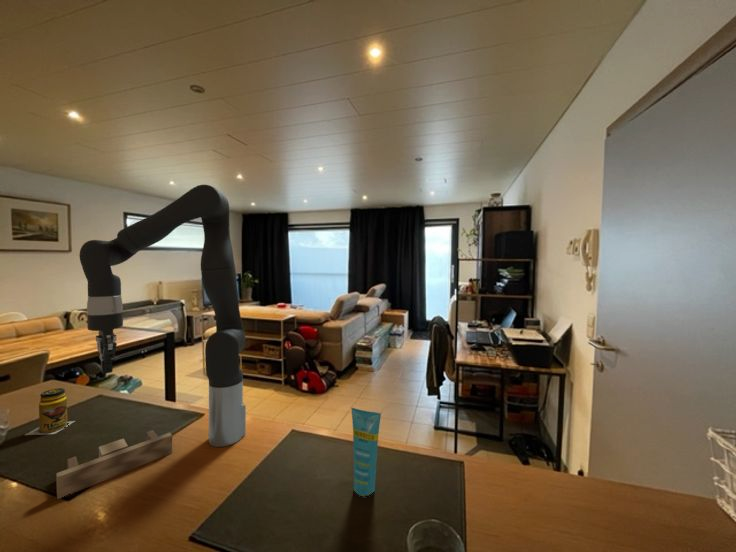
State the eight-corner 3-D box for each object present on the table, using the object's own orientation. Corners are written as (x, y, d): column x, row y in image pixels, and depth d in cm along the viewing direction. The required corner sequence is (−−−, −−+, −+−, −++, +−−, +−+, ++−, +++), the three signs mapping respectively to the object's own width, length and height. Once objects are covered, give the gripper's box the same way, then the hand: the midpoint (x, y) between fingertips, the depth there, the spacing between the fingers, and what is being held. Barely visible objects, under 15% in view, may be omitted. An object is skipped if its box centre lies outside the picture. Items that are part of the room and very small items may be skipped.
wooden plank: (162, 440, 88) (162, 423, 88) (172, 452, 82) (172, 435, 82) (54, 480, 71) (54, 459, 71) (57, 499, 65) (57, 477, 65)
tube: (346, 493, 68) (347, 411, 68) (353, 479, 73) (354, 402, 72) (377, 501, 66) (378, 417, 66) (382, 486, 71) (384, 407, 70)
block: (123, 456, 80) (123, 438, 80) (128, 464, 77) (127, 445, 77) (99, 465, 77) (98, 446, 77) (102, 474, 73) (102, 455, 73)
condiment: (55, 434, 90) (55, 395, 90) (23, 435, 89) (22, 396, 89) (75, 421, 98) (75, 385, 97) (46, 423, 96) (45, 386, 96)
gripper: (127, 312, 82) (129, 374, 83) (117, 308, 91) (118, 364, 91) (91, 316, 76) (92, 382, 77) (83, 310, 85) (85, 370, 85)
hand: (107, 372), depth 84 cm, fingers closed
